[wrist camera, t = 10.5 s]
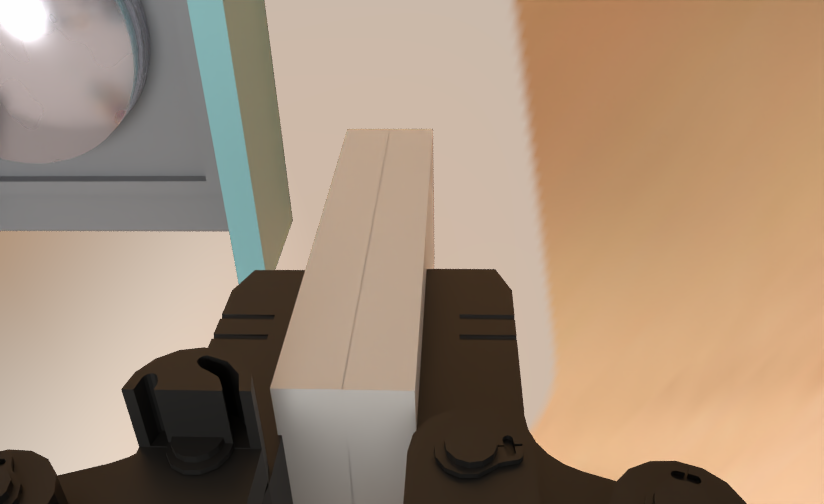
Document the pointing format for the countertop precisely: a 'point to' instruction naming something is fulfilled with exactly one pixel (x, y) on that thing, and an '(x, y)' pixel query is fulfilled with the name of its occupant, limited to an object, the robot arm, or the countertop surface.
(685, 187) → the countertop surface
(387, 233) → the robot arm
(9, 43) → the disc
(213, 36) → the tray
